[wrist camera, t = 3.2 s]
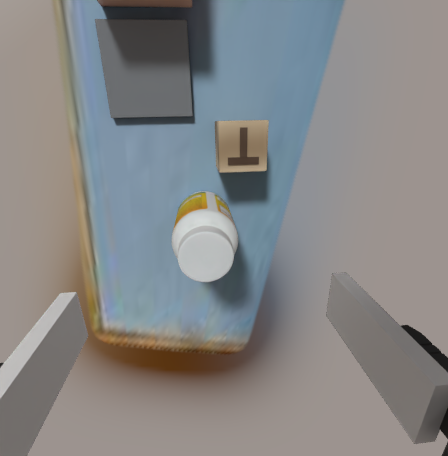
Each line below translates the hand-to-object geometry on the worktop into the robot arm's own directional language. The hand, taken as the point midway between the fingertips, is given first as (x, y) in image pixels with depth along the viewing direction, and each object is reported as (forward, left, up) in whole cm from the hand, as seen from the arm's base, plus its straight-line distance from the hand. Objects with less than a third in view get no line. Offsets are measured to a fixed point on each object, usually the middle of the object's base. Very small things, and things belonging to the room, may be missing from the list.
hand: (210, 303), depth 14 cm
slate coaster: (-13, -4, -15) cm, 20 cm away
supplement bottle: (0, 0, -15) cm, 15 cm away
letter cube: (-7, +4, -15) cm, 17 cm away
